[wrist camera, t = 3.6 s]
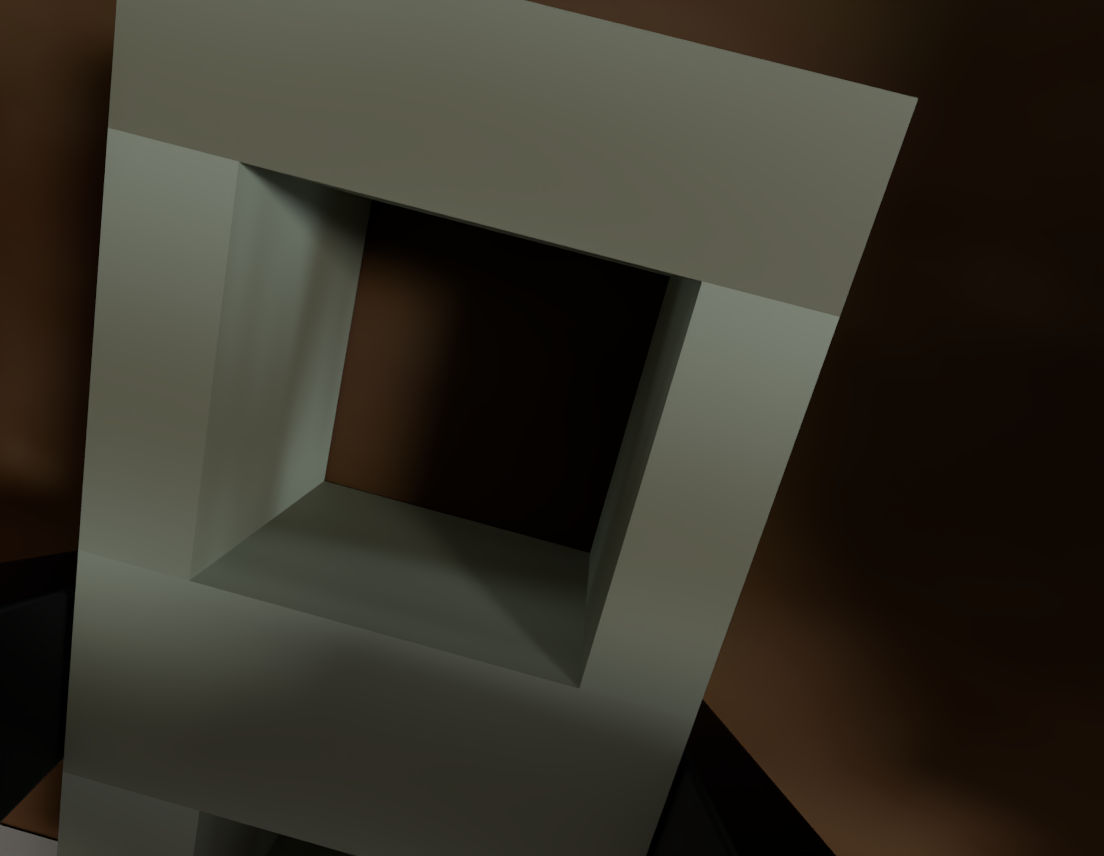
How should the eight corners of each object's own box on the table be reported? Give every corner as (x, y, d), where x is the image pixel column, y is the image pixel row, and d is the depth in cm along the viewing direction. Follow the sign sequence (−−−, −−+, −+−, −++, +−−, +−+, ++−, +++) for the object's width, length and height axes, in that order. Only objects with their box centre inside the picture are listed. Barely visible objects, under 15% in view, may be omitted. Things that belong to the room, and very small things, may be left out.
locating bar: (305, 37, 8) (124, -100, 5) (802, 163, 8) (918, 97, 5) (197, 832, 11) (44, 1041, 8) (550, 933, 11) (527, 1185, 8)
